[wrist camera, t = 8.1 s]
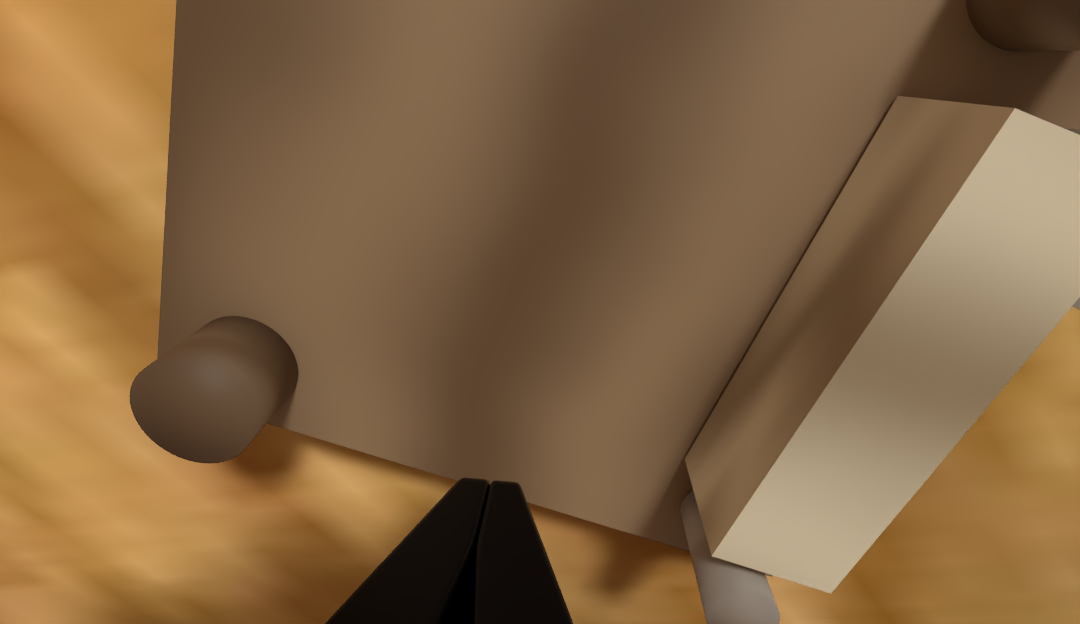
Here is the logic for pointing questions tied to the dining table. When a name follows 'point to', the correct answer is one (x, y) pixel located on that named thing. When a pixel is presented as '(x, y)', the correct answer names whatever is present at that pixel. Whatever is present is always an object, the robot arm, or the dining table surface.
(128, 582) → the dining table surface
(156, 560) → the dining table surface
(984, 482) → the dining table surface
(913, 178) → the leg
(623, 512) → the upturned stool seat
